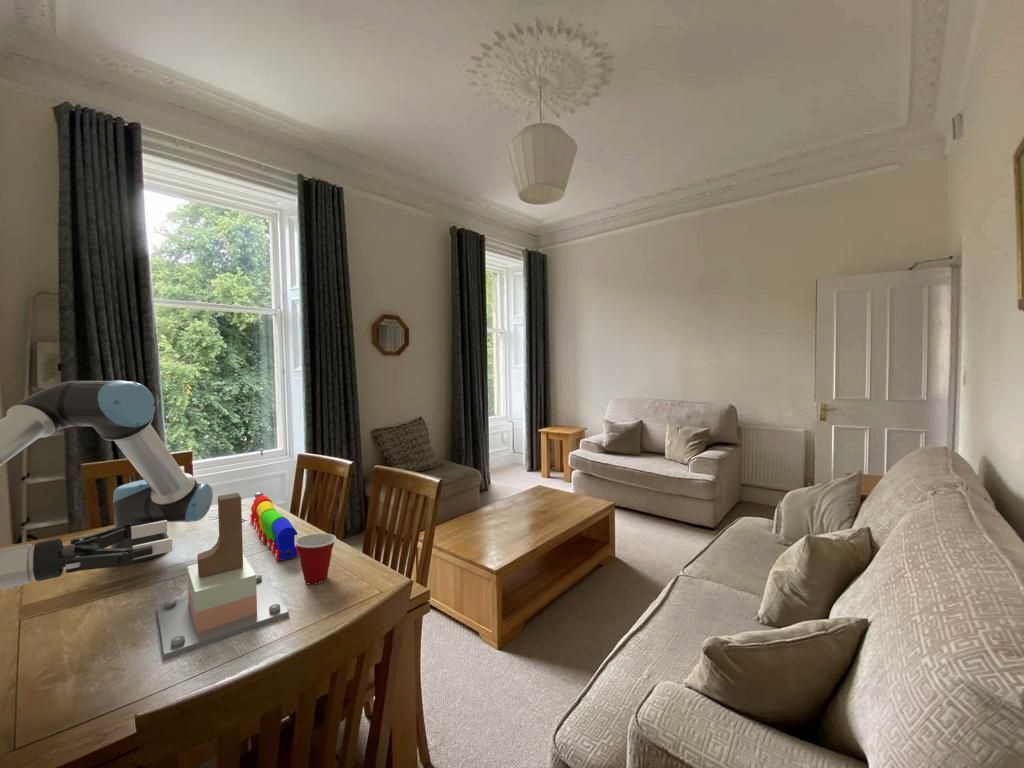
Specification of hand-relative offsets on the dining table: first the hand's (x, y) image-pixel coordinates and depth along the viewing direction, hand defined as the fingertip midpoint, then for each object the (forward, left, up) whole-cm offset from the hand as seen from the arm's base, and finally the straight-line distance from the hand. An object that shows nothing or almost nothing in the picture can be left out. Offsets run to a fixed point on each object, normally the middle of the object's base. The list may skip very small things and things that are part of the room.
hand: (169, 534), depth 102 cm
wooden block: (0, +10, -12) cm, 15 cm away
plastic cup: (-2, +33, -22) cm, 40 cm away
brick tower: (0, +10, -22) cm, 24 cm away
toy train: (-42, +30, -23) cm, 56 cm away
